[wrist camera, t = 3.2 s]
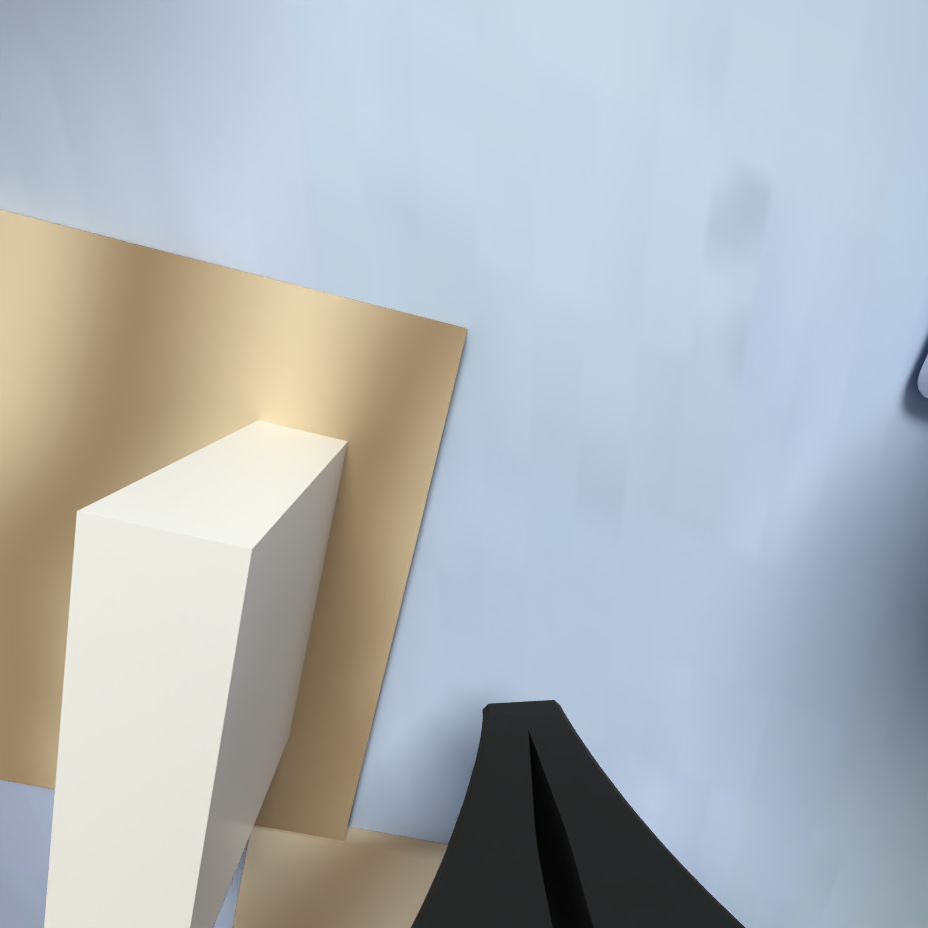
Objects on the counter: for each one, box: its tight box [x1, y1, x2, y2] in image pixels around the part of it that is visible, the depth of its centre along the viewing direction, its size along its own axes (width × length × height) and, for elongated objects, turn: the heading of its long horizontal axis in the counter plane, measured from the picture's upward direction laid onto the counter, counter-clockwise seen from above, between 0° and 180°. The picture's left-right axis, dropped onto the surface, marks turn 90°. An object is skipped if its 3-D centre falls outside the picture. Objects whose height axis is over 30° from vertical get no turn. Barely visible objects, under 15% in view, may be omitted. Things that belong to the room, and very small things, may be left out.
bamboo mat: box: [0, 210, 468, 841], centre depth 13 cm, size 16×14×1 cm
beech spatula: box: [232, 825, 448, 928], centre depth 16 cm, size 13×4×1 cm, turn 76°
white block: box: [44, 420, 348, 928], centre depth 10 cm, size 2×8×6 cm, turn 166°
